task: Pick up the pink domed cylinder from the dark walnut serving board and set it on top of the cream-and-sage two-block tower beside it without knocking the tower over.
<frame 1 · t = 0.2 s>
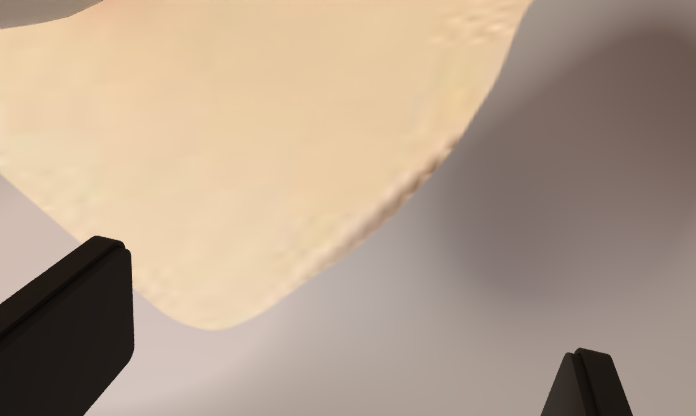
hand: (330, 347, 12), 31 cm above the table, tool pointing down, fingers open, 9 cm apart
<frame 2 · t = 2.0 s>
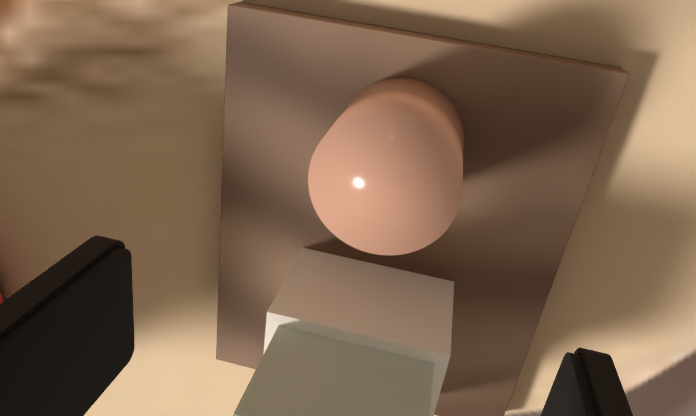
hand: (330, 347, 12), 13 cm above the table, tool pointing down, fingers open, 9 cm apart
serving board: (384, 233, 25), on the table
cream block: (365, 325, 26), point 1 cm above the table, touching sage block, serving board
sage block: (344, 401, 22), point 6 cm above the table, touching cream block
pink domed cylinder: (400, 139, 22), point 1 cm above the table, touching serving board
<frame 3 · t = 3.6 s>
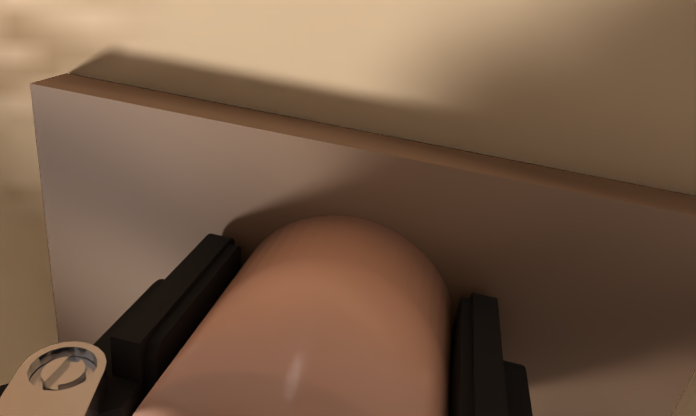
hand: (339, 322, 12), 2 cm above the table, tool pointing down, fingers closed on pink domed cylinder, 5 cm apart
pink domed cylinder: (342, 313, 13), point 1 cm above the table, touching gripper, serving board
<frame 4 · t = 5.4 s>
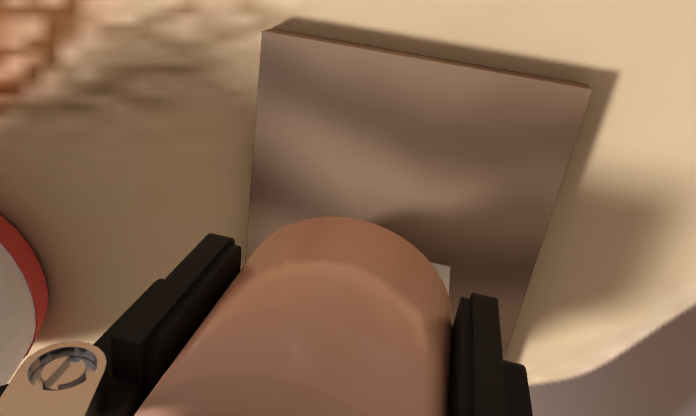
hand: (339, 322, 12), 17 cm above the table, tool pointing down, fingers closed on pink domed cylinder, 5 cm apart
serving board: (390, 225, 29), on the table
pink domed cylinder: (342, 314, 13), point 16 cm above the table, touching gripper
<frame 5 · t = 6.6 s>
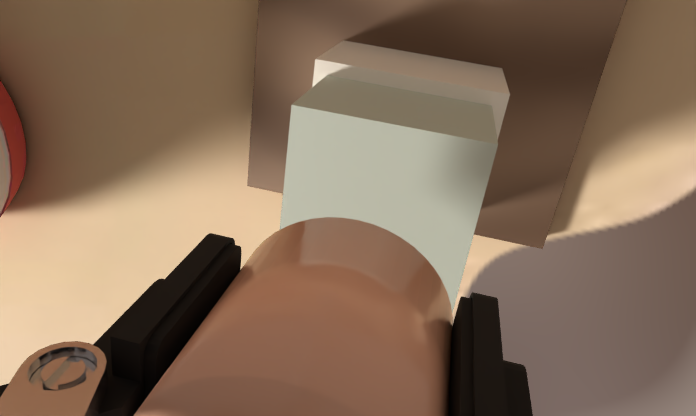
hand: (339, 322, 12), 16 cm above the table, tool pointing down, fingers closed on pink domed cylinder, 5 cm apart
serving board: (427, 27, 25), on the table
cream block: (406, 130, 25), point 1 cm above the table, touching sage block, serving board
sage block: (393, 167, 21), point 6 cm above the table, touching cream block
pink domed cylinder: (342, 315, 13), point 16 cm above the table, touching gripper
when the fingers open (12 cm above the table, at t = 7.5 s): pink domed cylinder drops 1 cm, resting on sage block.
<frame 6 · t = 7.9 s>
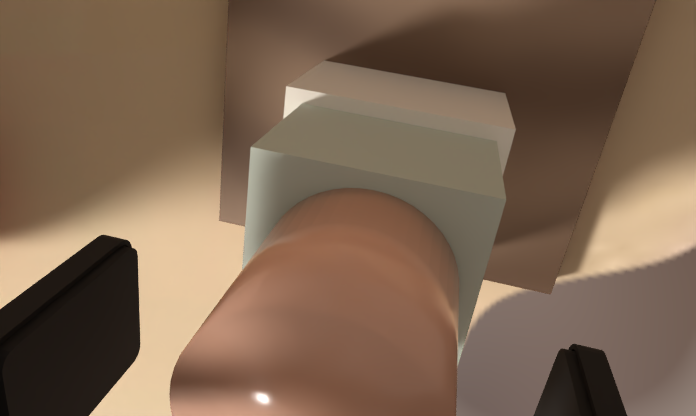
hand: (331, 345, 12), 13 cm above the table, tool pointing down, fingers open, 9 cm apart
serving board: (420, 45, 22), on the table
cream block: (396, 161, 22), point 1 cm above the table, touching sage block, serving board
sage block: (380, 210, 18), point 6 cm above the table, touching cream block, pink domed cylinder
pink domed cylinder: (358, 279, 14), point 11 cm above the table, touching sage block
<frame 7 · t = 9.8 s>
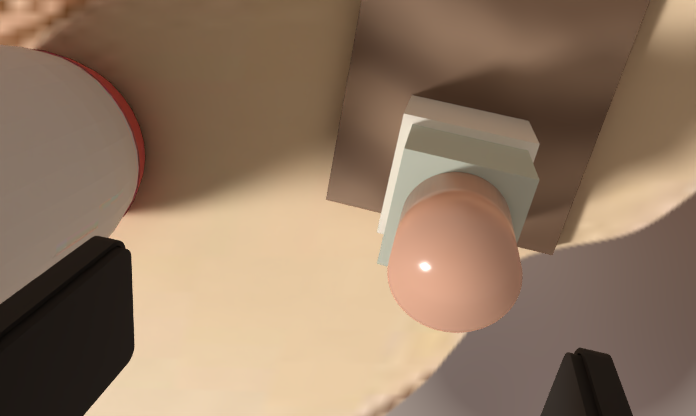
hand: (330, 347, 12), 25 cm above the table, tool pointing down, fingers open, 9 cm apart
serving board: (473, 87, 33), on the table
citrus juicer: (65, 140, 40), on the table
cream block: (454, 162, 34), point 1 cm above the table, touching sage block, serving board
sage block: (454, 190, 29), point 6 cm above the table, touching cream block, pink domed cylinder
pink domed cylinder: (454, 223, 25), point 11 cm above the table, touching sage block
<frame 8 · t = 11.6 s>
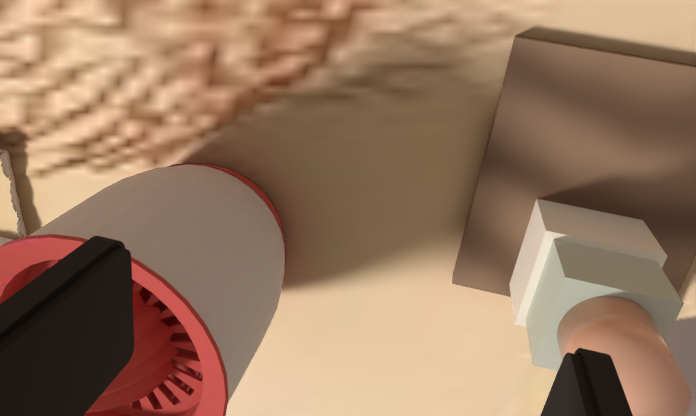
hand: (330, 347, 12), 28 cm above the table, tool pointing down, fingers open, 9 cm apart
serving board: (590, 189, 38), on the table
citrus juicer: (209, 230, 45), on the table
cream block: (572, 253, 38), point 1 cm above the table, touching sage block, serving board
sage block: (587, 291, 34), point 6 cm above the table, touching cream block, pink domed cylinder
pink domed cylinder: (605, 335, 30), point 11 cm above the table, touching sage block
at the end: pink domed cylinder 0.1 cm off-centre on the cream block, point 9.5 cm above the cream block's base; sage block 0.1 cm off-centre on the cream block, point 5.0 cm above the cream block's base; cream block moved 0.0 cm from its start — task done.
